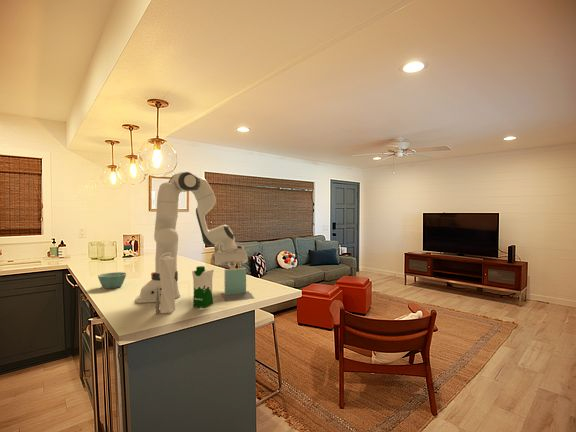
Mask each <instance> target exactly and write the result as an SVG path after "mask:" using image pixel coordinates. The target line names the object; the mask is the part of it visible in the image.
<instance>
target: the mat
mask: <svg viewBox="0 0 576 432" xmlns="http://www.w3.org/2000/svg"><path fill="white" fill-rule="evenodd" d="M220 295H221V297H222V298H223V301H224V302H233V301H236V302H237V301H243V300H245V301H246V300H251V299H256V298H255V296H253V295H252V293H251V292H250V291H249V290H246V293H240V294H229V295H225V292H224V293H220Z"/></svg>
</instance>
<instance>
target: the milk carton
mask: <svg viewBox="0 0 576 432" xmlns="http://www.w3.org/2000/svg"><path fill="white" fill-rule="evenodd" d="M191 272H192V278H193V283H192V284H193V286H192V287H193V296H192V297H193V298H192V300H193V302H192V306H193V307H192V308H202V309H206V308H208V307H209V306H211V305H212V304H214V300H213V299H214V298H213V275H214V268H213V269H211V268H209V269H208V268H206V267H205V266H203V265H201V266H196V269H195V270H192V271H191Z"/></svg>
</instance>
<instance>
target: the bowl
mask: <svg viewBox="0 0 576 432" xmlns="http://www.w3.org/2000/svg"><path fill="white" fill-rule="evenodd" d="M97 277H98V281H99V283H100V285H101V288H104V289H106V290H111V289H112V290H113V289H118V288H120V287H122V285H123V284H124V283H125V279H126V277H127V272H123V271H122V272H120V271H117V272H107V273H101V274H98V275H97Z"/></svg>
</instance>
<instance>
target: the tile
mask: <svg viewBox="0 0 576 432" xmlns="http://www.w3.org/2000/svg"><path fill="white" fill-rule="evenodd" d="M223 270H224V293H225V295H229V294H240V293H246V291H247V268H246V267H241V268H235V269H230V268H225V269H223Z"/></svg>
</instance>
